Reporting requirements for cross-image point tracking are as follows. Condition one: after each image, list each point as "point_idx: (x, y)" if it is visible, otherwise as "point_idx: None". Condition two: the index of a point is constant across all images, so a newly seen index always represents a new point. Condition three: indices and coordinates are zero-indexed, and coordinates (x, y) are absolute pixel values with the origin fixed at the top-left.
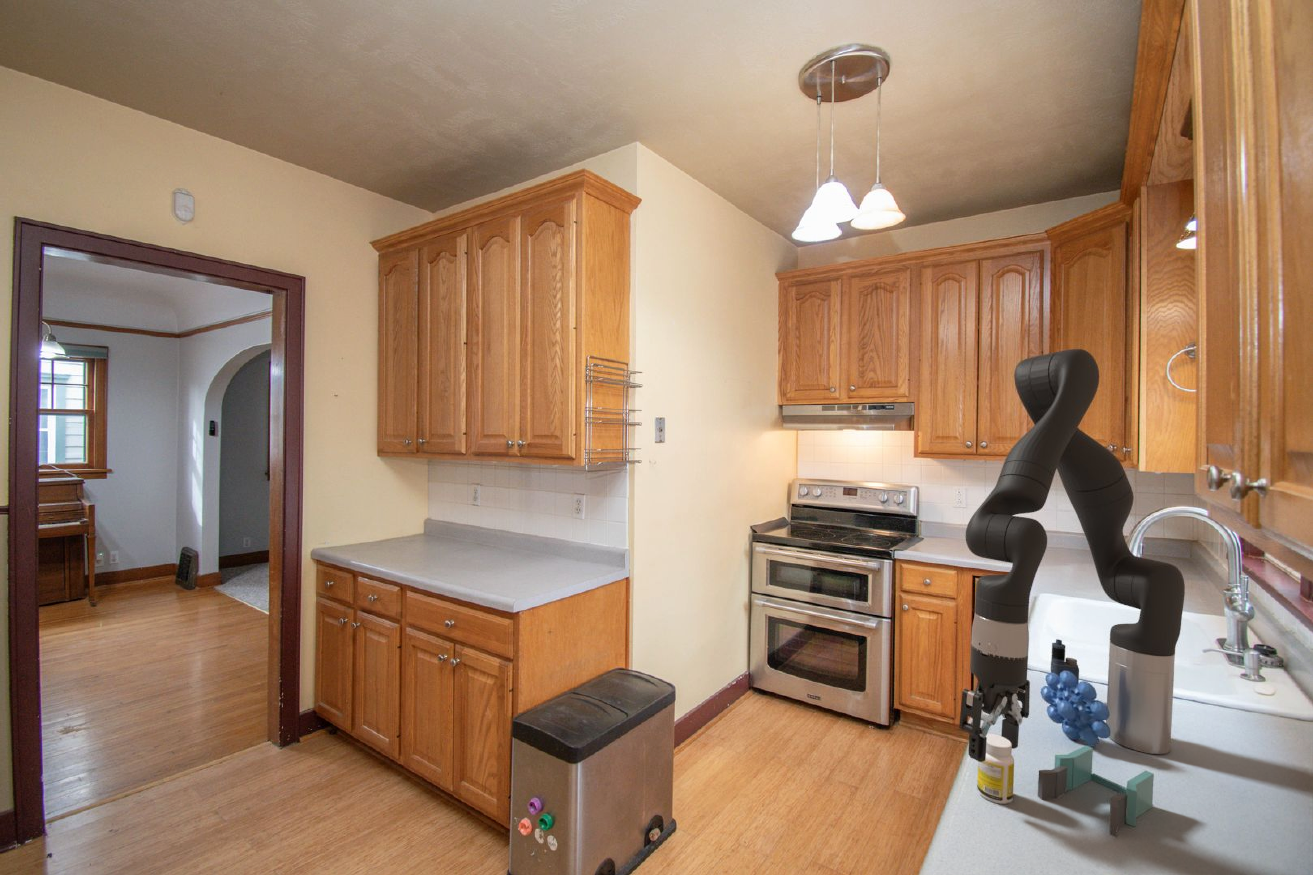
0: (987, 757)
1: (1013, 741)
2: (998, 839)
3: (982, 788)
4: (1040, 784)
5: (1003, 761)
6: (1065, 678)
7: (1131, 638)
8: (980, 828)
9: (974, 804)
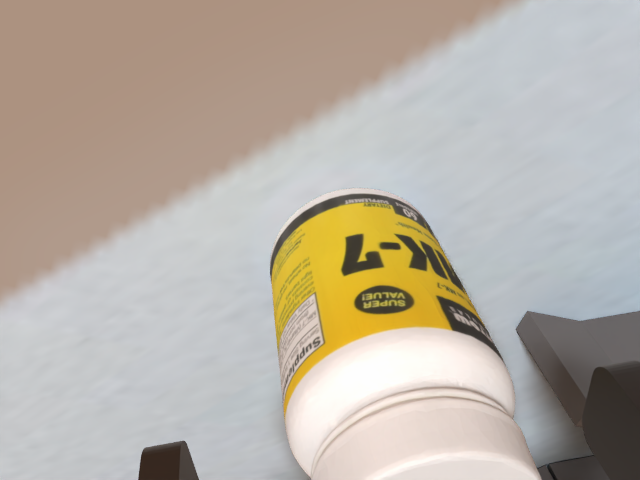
0: (293, 451)
1: (612, 466)
2: (82, 444)
3: (273, 277)
4: (549, 366)
5: None
6: None
7: None
8: (57, 393)
9: (175, 279)
